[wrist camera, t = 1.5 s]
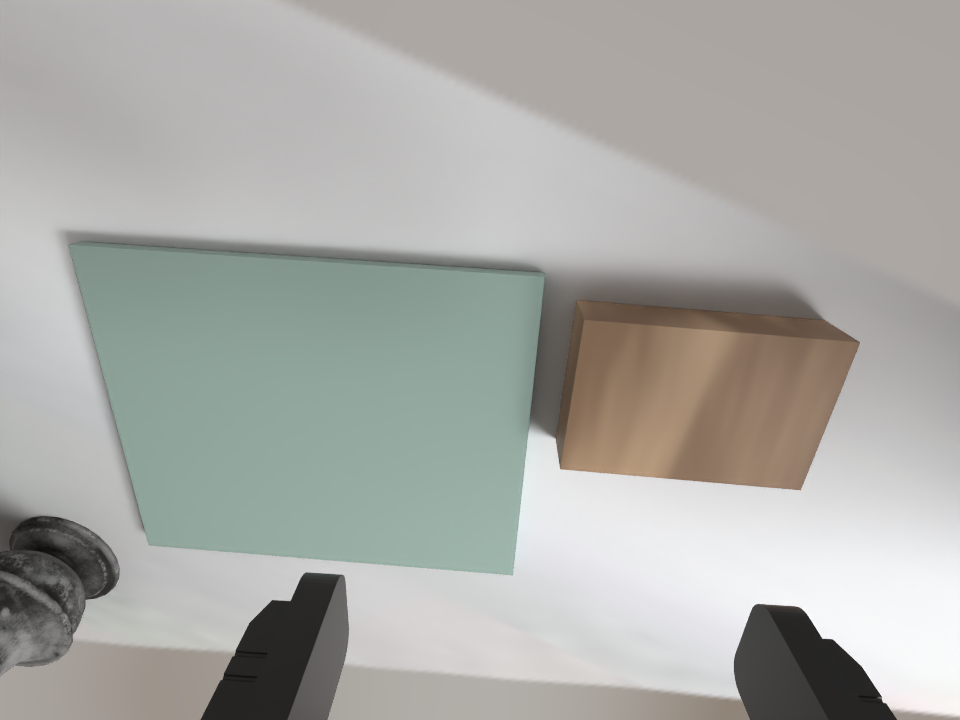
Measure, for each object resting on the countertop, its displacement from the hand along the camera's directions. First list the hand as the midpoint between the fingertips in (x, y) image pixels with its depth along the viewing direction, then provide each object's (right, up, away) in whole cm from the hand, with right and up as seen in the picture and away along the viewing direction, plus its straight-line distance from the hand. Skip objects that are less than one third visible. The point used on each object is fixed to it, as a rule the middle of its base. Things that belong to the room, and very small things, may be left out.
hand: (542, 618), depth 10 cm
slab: (+2, +4, +9) cm, 10 cm away
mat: (-8, +3, +11) cm, 14 cm away
